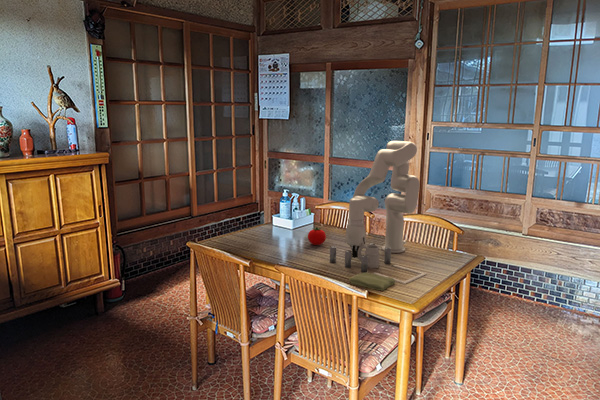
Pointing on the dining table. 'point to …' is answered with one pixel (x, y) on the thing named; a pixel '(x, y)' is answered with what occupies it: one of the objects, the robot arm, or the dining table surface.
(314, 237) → the tomato
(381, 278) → the washcloth
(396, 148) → the robot arm
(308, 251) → the dining table surface
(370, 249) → the mug
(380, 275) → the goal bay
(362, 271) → the posts
